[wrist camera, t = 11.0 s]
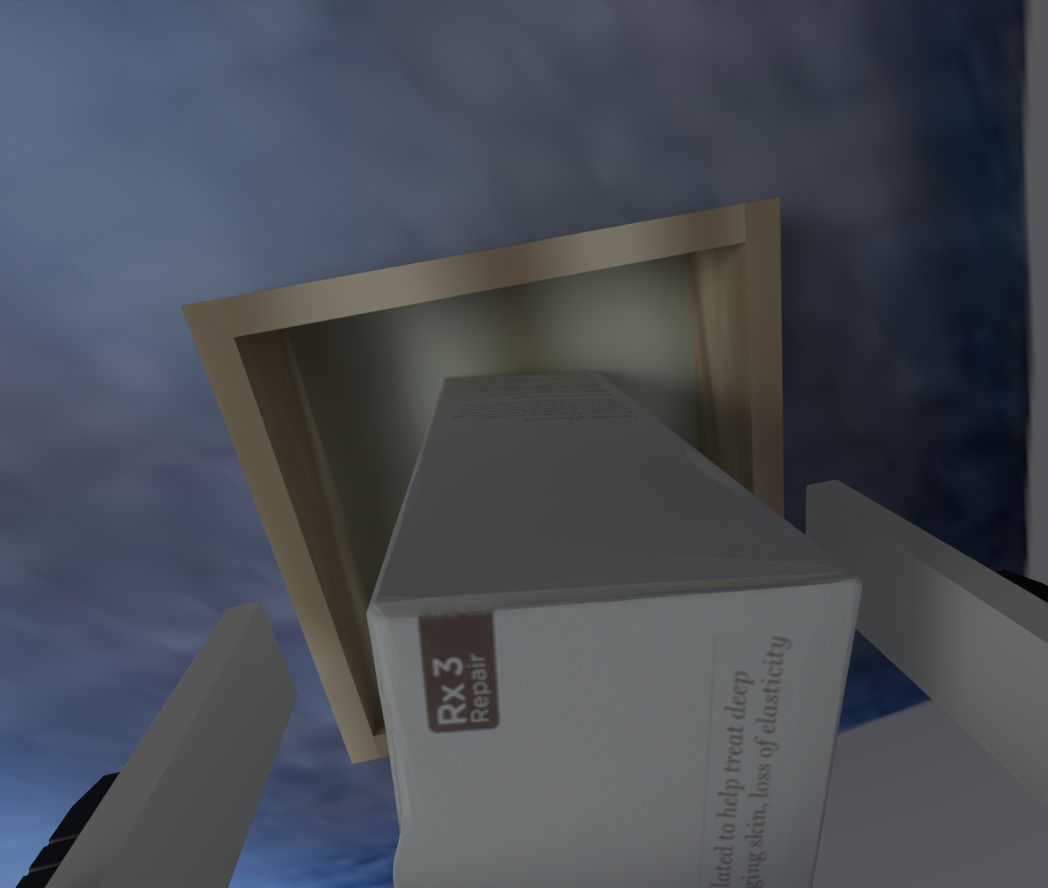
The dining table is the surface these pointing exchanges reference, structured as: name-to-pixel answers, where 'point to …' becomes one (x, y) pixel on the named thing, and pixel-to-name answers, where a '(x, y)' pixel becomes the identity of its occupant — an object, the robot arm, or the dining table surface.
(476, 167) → the dining table surface
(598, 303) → the birch box
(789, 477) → the dining table surface
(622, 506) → the skincare box
